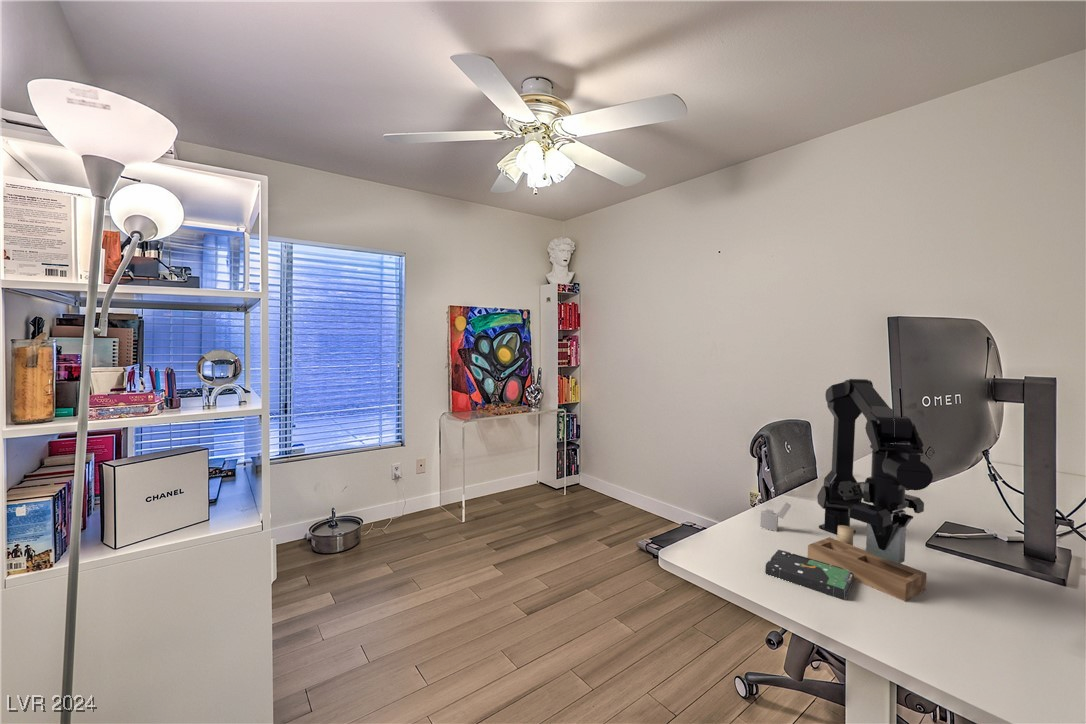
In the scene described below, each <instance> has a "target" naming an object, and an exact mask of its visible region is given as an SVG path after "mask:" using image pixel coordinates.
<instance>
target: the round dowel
mask: <svg viewBox="0 0 1086 724" xmlns="http://www.w3.org/2000/svg"><path fill="white" fill-rule="evenodd" d="M854 534H855V532H854V528H853V527H851V526H850V527H849V526H844V525H838V531H837V534H836V536H837V537H836V540H839V541H841V542H844V543H847V544H849V545H852V546H854Z"/></svg>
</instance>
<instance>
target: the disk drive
mask: <svg viewBox="0 0 1086 724" xmlns="http://www.w3.org/2000/svg"><path fill="white" fill-rule="evenodd" d="M764 570H765V573H766V574H765V573H764V574H765V575H767V574H768V575H767V576H770V575H771V576H770V577H772V576H774V577H773V578H775V577H777V578H776V579H778V578H780V579H779V580H782V579H783V580H782V581H785V580H786V581H785V582H788V581H789V582H788V583H791V582H792V584H794V583H795V584H794V585H797V586H800V585H801V587H803V588H806V589H810V590H811V591H815V592H817V593H821V594H824V595H826V596H829V597H833V598H836V599H839V600H842V601H846V600H847V597H848V595H849V592H850V590H851V588H852V585H853V583H854V579H853V576H854V574H853V572H851V571H849V570H846V569H843V568H841V567H838V566H834V565H830V564H827V563H824V562H820V561H817V560H813V559H810V558H808V557H807V556H802V555H799V554H795V553H792V552H790V551H786V550H782V549H777V551H776V552H775V553H774V554H772V556H771V558H770V560H768V561H767V562H766V563H765V569H764Z"/></svg>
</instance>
